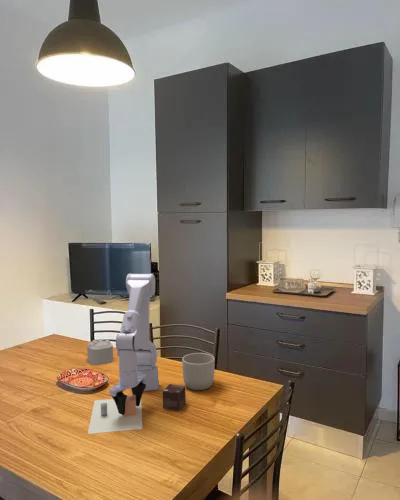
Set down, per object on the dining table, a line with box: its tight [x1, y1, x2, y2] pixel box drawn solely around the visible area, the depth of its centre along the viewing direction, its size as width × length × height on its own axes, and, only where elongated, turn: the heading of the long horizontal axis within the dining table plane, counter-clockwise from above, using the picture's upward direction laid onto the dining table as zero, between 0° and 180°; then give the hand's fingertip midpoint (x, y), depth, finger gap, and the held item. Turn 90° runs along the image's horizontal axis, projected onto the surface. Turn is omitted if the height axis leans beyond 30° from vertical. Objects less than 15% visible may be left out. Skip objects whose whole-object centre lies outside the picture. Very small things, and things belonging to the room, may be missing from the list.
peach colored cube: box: [122, 394, 136, 416], centre depth 131 cm, size 4×4×5 cm
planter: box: [181, 352, 216, 391], centre depth 154 cm, size 12×12×11 cm
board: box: [87, 398, 143, 435], centre depth 131 cm, size 16×22×5 cm
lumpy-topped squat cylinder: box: [86, 338, 114, 366], centre depth 184 cm, size 10×13×9 cm
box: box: [162, 383, 187, 412], centre depth 135 cm, size 6×6×7 cm
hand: (129, 409), depth 131 cm, fingers closed on peach colored cube, 6 cm apart
